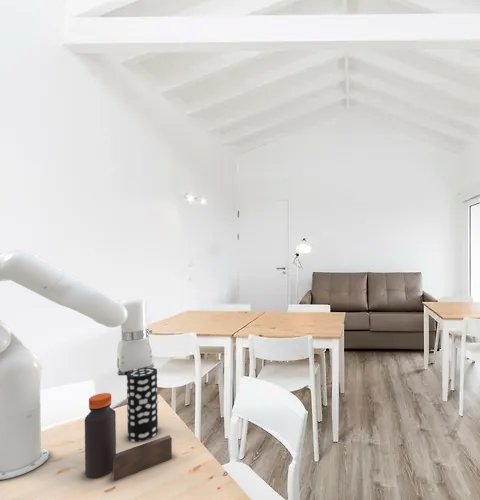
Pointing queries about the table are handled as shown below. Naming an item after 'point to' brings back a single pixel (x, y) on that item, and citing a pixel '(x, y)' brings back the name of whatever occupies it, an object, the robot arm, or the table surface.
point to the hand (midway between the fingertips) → (136, 388)
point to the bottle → (99, 436)
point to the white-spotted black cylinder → (142, 404)
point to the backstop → (141, 457)
